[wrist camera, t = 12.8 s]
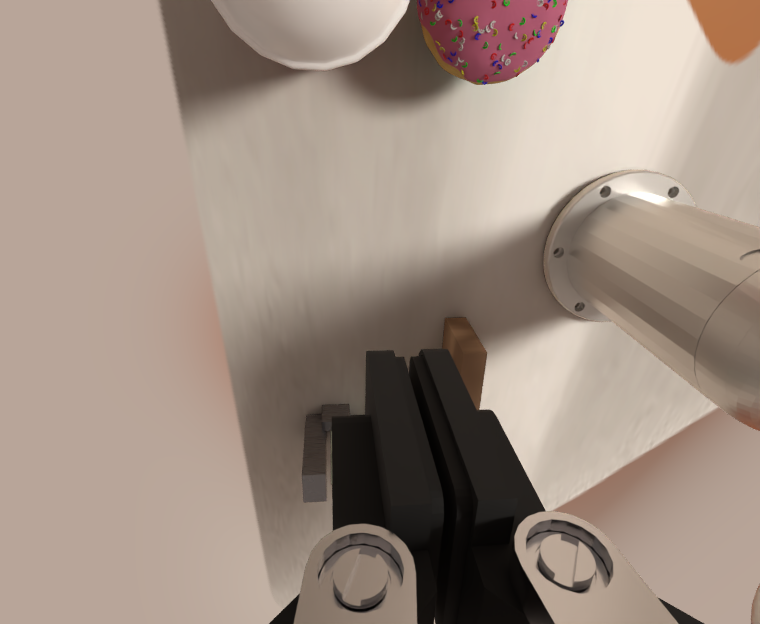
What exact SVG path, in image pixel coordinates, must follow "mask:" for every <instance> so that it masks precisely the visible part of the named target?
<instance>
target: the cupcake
mask: <svg viewBox="0 0 760 624" xmlns="http://www.w3.org/2000/svg"><path fill="white" fill-rule="evenodd" d="M567 2H568V0H417V12H418V17H419V20H420V22H421V26H422V31H423V36H424V39H425V42H426V44H427V46H428V48H429V49H430V51H431V52H432V54H433V56H434V57H435V59H436V61H437V62H438V64H439V65H440V66H441V67H442V68H443V69H444V70H445V71H447V72H448V73H450V74H452V75H454V76H456V77H458V78H461V79H464V80H467V81H469V82H471V83H473V84H476V85H483V84H484V85H485V84H495V83H500V82H504V81H507V80H510V79H512V78H514V77H517V76H518V75H519V74H520V73H522V72H523V71H525V70H526V69H528V68H529V67H531V66H532V65H533V64H535V63H536V62H539V59H540V58H541V57H542V55H543V54H544V53H545V52H546V50H547V49H549V48H550V45H551V43H553V42H554V39H555V37H556V35H557V33H558V30H559V28H560V26H562V25H563V24H564V21H563V20H562V19H563V16H564V13H565V10H566V6H567ZM561 22H562V24H561Z"/></svg>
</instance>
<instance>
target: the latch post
mask: <svg viewBox="0 0 760 624" xmlns="http://www.w3.org/2000/svg"><path fill="white" fill-rule="evenodd" d="M332 416H350V413H349V404H339V405H322V414H315V415H306V423H305V438H304V453H303V468H302V484H303V501H304V502H319V501H326V497H327V432H326V431H332Z"/></svg>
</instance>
